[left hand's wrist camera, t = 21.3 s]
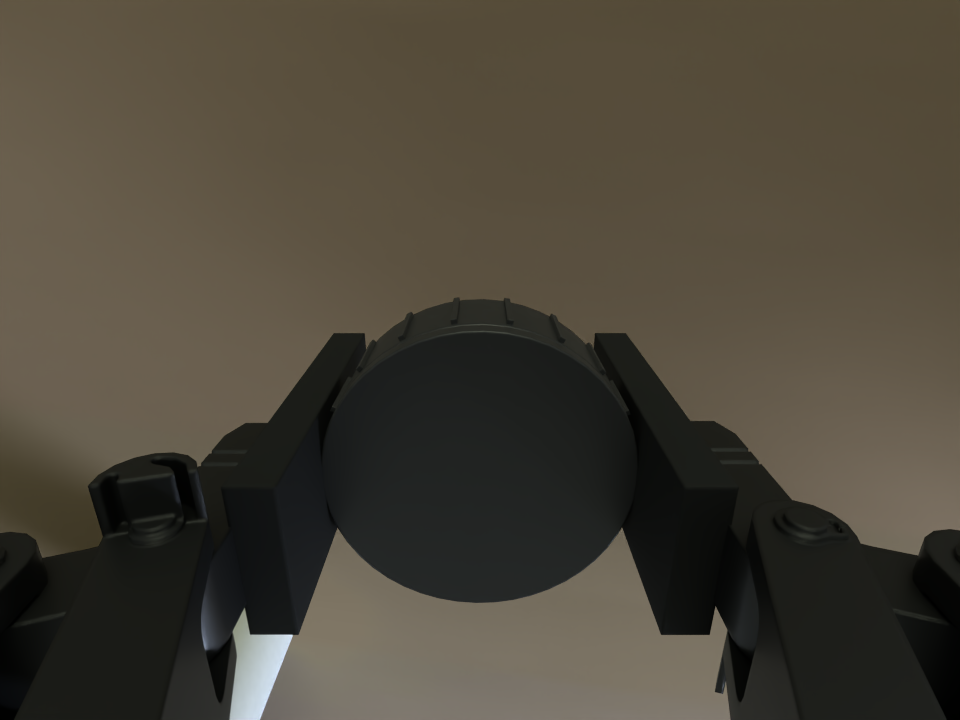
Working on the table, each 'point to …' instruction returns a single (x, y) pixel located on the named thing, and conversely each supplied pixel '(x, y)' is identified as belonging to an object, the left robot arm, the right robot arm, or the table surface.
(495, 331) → the lid
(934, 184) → the table surface
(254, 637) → the bottle
